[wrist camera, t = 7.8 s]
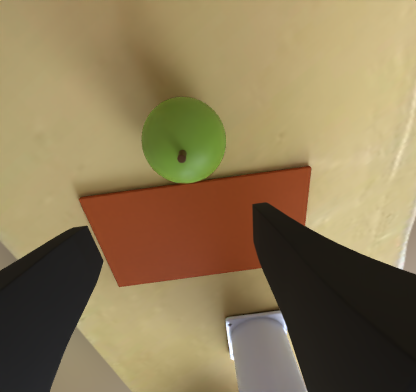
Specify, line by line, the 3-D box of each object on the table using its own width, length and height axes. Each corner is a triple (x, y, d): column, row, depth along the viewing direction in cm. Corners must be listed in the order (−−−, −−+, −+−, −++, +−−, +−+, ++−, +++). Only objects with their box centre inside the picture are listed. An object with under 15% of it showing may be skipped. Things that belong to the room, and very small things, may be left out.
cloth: (299, 260, 23) (301, 262, 23) (120, 284, 23) (119, 287, 23) (309, 165, 18) (311, 167, 18) (80, 196, 18) (78, 199, 18)
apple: (223, 162, 18) (238, 199, 12) (159, 170, 18) (142, 212, 12) (217, 90, 15) (231, 92, 9) (142, 100, 15) (110, 108, 9)
